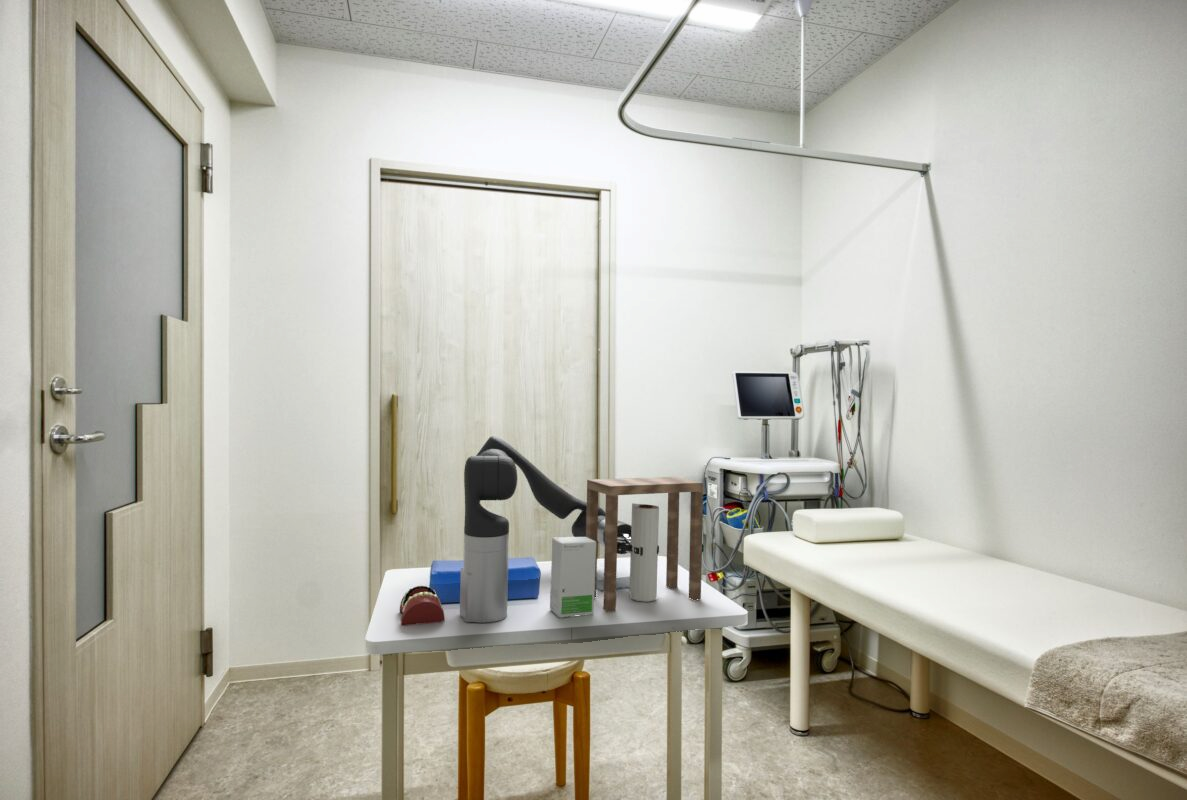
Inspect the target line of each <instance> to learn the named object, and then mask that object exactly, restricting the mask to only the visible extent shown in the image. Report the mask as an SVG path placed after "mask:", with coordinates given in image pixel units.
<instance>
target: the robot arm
mask: <svg viewBox="0 0 1187 800" xmlns="http://www.w3.org/2000/svg"><path fill="white" fill-rule="evenodd" d="M517 467H518V468H519V469H520V470H521V472H522V473H523V475H524V477H525V479H526V481H527V483H528V485H529V488H530V490H531V491H530V492H531V493H532V495H533V496H534V499H535V500H536V502H537V503H538V504H539V505H540V506H542V508H544V509H545V510H547V511H548V512H550V513H551V514H553V515H554V516H555V517H557V518H558V519H560V520H565V519H566V518H568V516H570V514H572V513H573V512H574V511H577V510H579V511H581V512H580V513H579V514H578V516H577V518H576V519H575V521H574V522H573V523H572V526H571V533H572V537H586V511H587V501H583V500H582V499H579V498H577V497H575V496H573V495H572V494H570V493H569V492H568V491H566V490H564V489H563V488H562V487H561V486H559V485H558V484H556V483H555V482H554V481H552V480H551V479H550V478H549V477H548V476H546V475H545V474H544V473H543V472H542V471H540V469H539V468H538V467H536V465H534V464H533V463H532V462H531V461H530V460H529V459H527V458H526V457H525V456H523V455H522V454H521V453H520V452H519V451H518V450H517V449H515V448H514V447H513V446H512V445H511V444H509V443H508V442H506V441H505V440H503V439H501V438H500V437H498V436H493V435H492V436H490V437H489V438H488V439H487V440H486V441H485V443H484V444H483V445H482V447H481V448H480V450H479V451H478V452H477V454H476V455H473V456H472V455H471V456H469V457H468V458H467V459H466V461H465V464H464V471H463V477H464V478H463V483H464V484H463V485H464V488H463V489H464V527H463V529H464V530H463V536H464V537H463V564H462V565H463V566H462V567H461V569H460V585H459V586H460V588H459V614H460V616H461V618H462V619H463V620H464V621H465V622H466V623H482V624H483V623H493V622H497V621H498V622H499V621H501V620H503V619H505V618H506V617H507V616H508V587H509V586H508V584H509V583H508V582H509V551H510V550H509V548H510V547H509V544H510V538H509V537H510V522H509V520H508V518H506V517H504V516H502V515H501V514H496V513H494V512H492V511H489V510H488V509H486V508H485V507H484V506H483V505H482V504H481V501H505V500H509V499H510V498H512V497H513V496H514V495H515V492H516V489H517V486H518V470H517ZM597 544H599V545H602V547H604V548H605V509H602V508H601V507H600V506H598V533H597ZM632 548H633V546H632V539H631V525H630V524H629V523H626V522H623V521H621V520H619V519H618V527H617V555H627V554H628V553H629V554H631V552H632V551H633V550H632ZM635 549H636V552H635ZM634 553H635V554H639V548H637V547H634ZM659 553H660V546H659V544H658V545H657V554H658V555H659ZM642 555H643V548H642V547H640V556H642Z"/></svg>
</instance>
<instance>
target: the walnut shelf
mask: <svg viewBox="0 0 1187 800" xmlns="http://www.w3.org/2000/svg"><path fill="white" fill-rule="evenodd" d="M599 493H601V494H604V495H605V509H604V512H605V547H604V556H603V557H604V559H603V561H604V565H603V566H604V567H603V569H604V570H603V579H604V591H603V606H602V607H603V608H602V609H603V611H605V610H606V611H605V612H607V613H609V612H610V613H611V611H612V612H616V609H617V608H616V607H617V590H616V578H617V574H618V573H617V569H618V568H617V566H618V565H617V564H618V562H617V561H618V560H617V557H618V553H617V527H618V520H619V519H618V518H619V513H618V512H619V496H629V495H630V496H631V495H652V494H653V495H654V494H655V495H656V494H667V527H666V528H667V529H666V530H667V534H666V535H667V536H666V573H665V574H666V578H665V579H666V580H665V581H666V583H665V587H666V586H667V587H666V588H668V587H669V588H668V589H670V588H673V589H677V588H678V584H679V583H678V580H679V579H678V578H679V577H678V576H679V535H680V534H679V532H680V530H679V529H680V527H679V525H680V493H690V512H689V513H690V514H689V517H690V518H689V520H690V521H689V527H690V528H689V560H688V561H689V562H688V563H689V564H688V565H689V568H688V570H689V571H688V599H689V598H691V599H693V600H696V601H698V600H697V599H702V566H703V565H702V563H703V561H702V560H703V558H702V556H703V554H702V553H703V515H704V514H703V513H704V512H703V510H704V509H703V507H704V482H703V481H702V482H701V481H698V480H697V481H696V480H692V479H687V478H683V477H679V476H661V477H659V476H657V477H634V478H632V477H630V478H629V477H627V478H625V477H624V478H604V479H603V478H597V479H595V478H594V479H586V502H587V511H586V537H587V538H589V539H591V540H594V541H596V560H595V591H594V597H596V598H597V589H596V580H598V579H597V578H598V577H597V573H598V572H597V571H598V570H597V569H598V567H597V566H598V565H597V564H598V543H597V533H598V507H599ZM676 587H677V588H676ZM691 599H690V600H691ZM693 600H692V601H693Z"/></svg>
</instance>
